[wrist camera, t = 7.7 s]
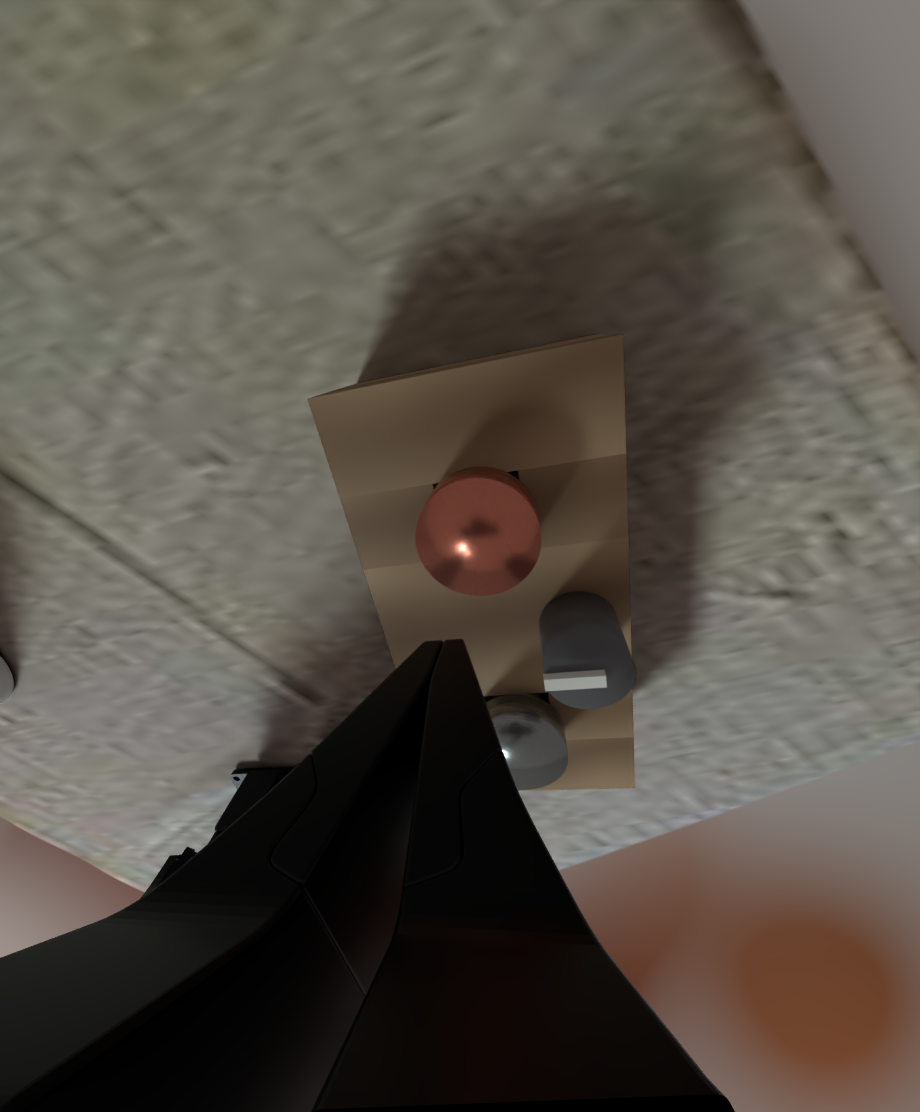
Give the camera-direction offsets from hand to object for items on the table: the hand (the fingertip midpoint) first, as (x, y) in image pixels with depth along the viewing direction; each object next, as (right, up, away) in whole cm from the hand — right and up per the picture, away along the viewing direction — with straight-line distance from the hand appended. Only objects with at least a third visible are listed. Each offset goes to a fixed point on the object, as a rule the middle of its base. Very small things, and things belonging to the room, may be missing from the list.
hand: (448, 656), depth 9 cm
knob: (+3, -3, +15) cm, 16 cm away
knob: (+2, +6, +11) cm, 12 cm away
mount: (+2, +1, +13) cm, 13 cm away
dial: (+5, -1, +8) cm, 9 cm away
